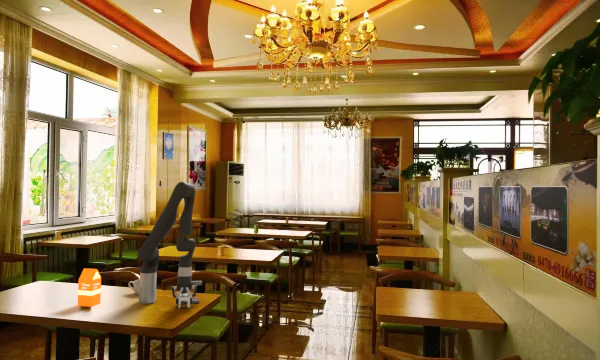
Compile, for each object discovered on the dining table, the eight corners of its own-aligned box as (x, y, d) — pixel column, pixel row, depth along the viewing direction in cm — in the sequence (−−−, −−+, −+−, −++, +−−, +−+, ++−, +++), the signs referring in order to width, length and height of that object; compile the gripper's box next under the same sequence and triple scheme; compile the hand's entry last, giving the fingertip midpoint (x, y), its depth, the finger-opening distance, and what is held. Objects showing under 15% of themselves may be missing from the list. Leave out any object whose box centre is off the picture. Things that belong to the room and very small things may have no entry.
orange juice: (91, 306, 234) (92, 270, 235) (77, 305, 236) (78, 269, 237) (100, 303, 242) (101, 267, 243) (87, 302, 244) (88, 267, 244)
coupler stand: (181, 304, 243) (181, 283, 243) (180, 300, 251) (181, 280, 251) (201, 303, 247) (202, 282, 247) (200, 299, 254) (201, 279, 254)
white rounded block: (189, 307, 235) (190, 296, 235) (178, 308, 233) (178, 297, 233) (188, 303, 243) (189, 293, 243) (177, 304, 241) (178, 293, 242)
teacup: (154, 291, 271) (154, 279, 271) (146, 296, 260) (146, 282, 260) (133, 290, 272) (133, 278, 273) (124, 295, 262) (125, 281, 262)
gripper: (171, 276, 232) (170, 307, 232) (198, 275, 237) (197, 305, 236) (171, 273, 240) (170, 303, 239) (197, 272, 244) (196, 302, 244)
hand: (183, 304), depth 238 cm, fingers closed on white rounded block, 6 cm apart
